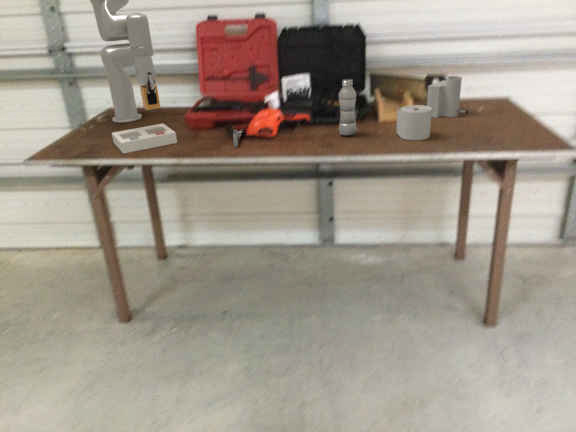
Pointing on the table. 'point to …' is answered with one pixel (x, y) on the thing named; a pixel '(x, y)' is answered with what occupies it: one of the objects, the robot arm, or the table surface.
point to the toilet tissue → (414, 122)
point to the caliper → (236, 137)
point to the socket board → (144, 138)
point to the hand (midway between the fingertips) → (151, 102)
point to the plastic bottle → (347, 108)
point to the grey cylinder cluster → (445, 97)
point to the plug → (145, 99)
